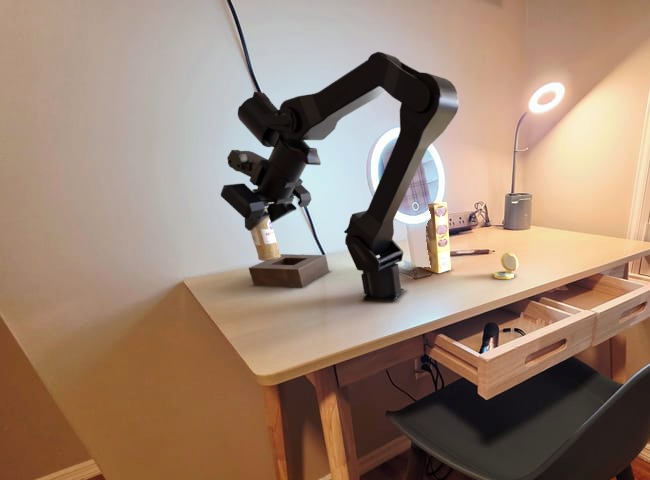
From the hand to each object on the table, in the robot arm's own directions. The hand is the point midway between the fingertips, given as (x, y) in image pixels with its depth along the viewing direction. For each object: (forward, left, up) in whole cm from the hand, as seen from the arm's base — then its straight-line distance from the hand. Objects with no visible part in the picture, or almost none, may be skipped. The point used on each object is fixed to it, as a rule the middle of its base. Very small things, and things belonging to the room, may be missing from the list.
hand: (255, 226), depth 78 cm
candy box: (-34, -15, -12) cm, 39 cm away
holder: (-3, -4, -12) cm, 13 cm away
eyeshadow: (-52, -11, -12) cm, 55 cm away
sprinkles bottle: (-1, 0, -7) cm, 7 cm away
